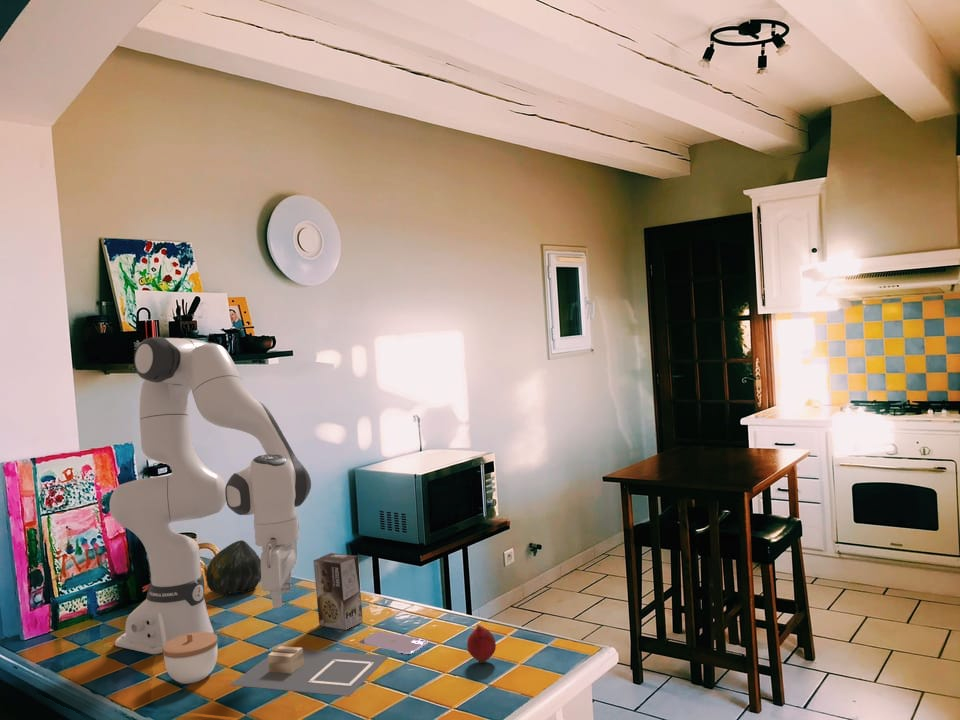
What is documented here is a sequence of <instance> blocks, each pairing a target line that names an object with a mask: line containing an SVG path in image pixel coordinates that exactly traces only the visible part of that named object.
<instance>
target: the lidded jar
mask: <svg viewBox="0 0 960 720" xmlns="http://www.w3.org/2000/svg"><path fill="white" fill-rule="evenodd" d="M218 642H219V641H218V635H217V634H216V633H214V632H213V633H210V632H196V633H189V634H185V635H182V636H179V637H176V638H174V639H172V640H170V641H168V642H167V643H165V644H164V646H163V648H162V651H163V652H162V654H163V661H164V666H165V669H166V672H167V674H168V676H169V677H171V679H172V680H174V681H175V682H177V683H179V684H183V685H185V684H186V685H187V684H193V683H197V682H200V681H202V680H204V679H206V678H207V677H208V676H209V675H210V674H211V672H212V671H214V669H215V667H216V664H217V660H218V651H219V650H218V649H219V648H218Z"/></svg>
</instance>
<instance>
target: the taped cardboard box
mask: <svg viewBox="0 0 960 720" xmlns="http://www.w3.org/2000/svg"><path fill="white" fill-rule="evenodd" d="M303 649H304V648H303V647H301V646H300V647H298V646H297V647H296V646H283V645H280V646H278V647H276V648H274V650H272V651H271V652H270V653H269V654H267V657H268V663H269V672H279V673H291V674H292V673H294V672H295V671H296V670H297V669H298V668H300V667H301V666H302V665H303V664H304V659H303Z"/></svg>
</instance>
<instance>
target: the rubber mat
mask: <svg viewBox="0 0 960 720" xmlns="http://www.w3.org/2000/svg"><path fill="white" fill-rule="evenodd" d="M389 657H390V655H385V654H383V655H382V654H371V653H360V652H359V653H357V652H344V651H343V652H342V651H332V650H331V651H330V650H320V649H319V650H318V649H316V650H315V649H305V648H303V659H304V664H303V665H302V666H301V667H300V668H298V669H297V670H296V671H295V672H294V673H292V674H291V673H279V672H269V663H268V656H267V657H265V658H264V659H262V660H261V661H260V662H258V663H257V664H256V665H255V666H253V667H252V668H250V669H249V670H248V671H246V672H245V673H244V674H242V675H241V676H240V677H238V678H237V679H235V680H234V681H233V682H231V683H230V684H229V686H234V687H235V686H236V687H244V688H245V687H246V688H256V689H267V690H277V691H287V692H288V691H289V692H298V693H299V692H300V693H310V694H319V695H320V694H322V695H328V696H330V695H331V696H342V697H350V696H352V694H353V693H355V691H356V690H357V689H358V688H359V687H360V686H361V685H362V684H363V683H365V681H366V680H367V679H368V678H369V677H371V676H372V674H373V673H374V672H375V671H376V670H377V669H378V668H380V666H382V664H384V662H385V661H387V659H388V658H389Z"/></svg>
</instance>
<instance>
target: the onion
mask: <svg viewBox="0 0 960 720" xmlns="http://www.w3.org/2000/svg"><path fill="white" fill-rule="evenodd" d="M496 644H497V643H496V639H495V637H494V635H493V634H492V633H491V631H490V630H489V629H487V628H485V627H484V626H483V625H481V623H477V624H476V628H475V629H473V631H472V632H471V633H470V634H469V635H468V639H467V644H466V645H467V646H466V647H467V651H468V653H469V654H470V656H471V657H472V658H474V659H475V660H476V661H478V662H479V663H481V664H482V663H485V662H486V661H488V660H489V659H490V658H491V657H492V656H493V655H494V654H495V651H496V649H497V647H496V646H497V645H496Z"/></svg>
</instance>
